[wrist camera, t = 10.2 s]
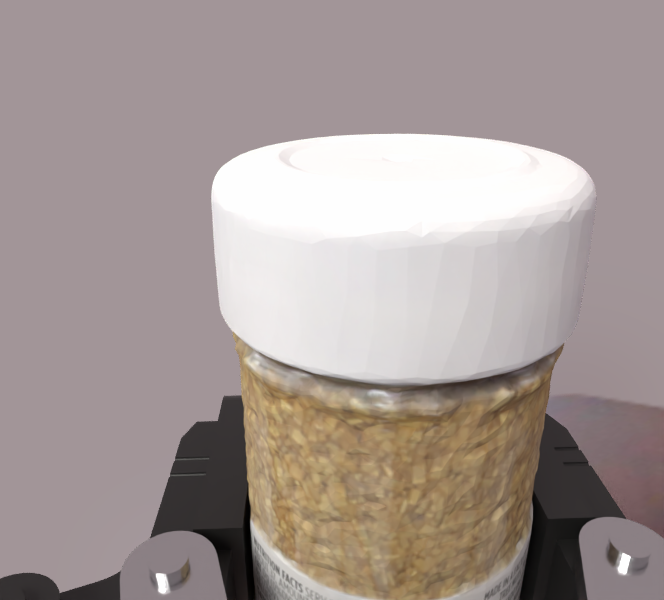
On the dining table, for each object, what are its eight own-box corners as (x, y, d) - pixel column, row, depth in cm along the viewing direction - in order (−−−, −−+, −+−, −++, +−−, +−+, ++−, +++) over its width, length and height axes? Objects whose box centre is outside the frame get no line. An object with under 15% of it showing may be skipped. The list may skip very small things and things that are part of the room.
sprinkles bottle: (351, 652, 16) (357, 118, 10) (519, 773, 13) (650, 144, 7) (220, 817, 12) (122, 159, 7) (410, 1025, 10) (501, 232, 4)
